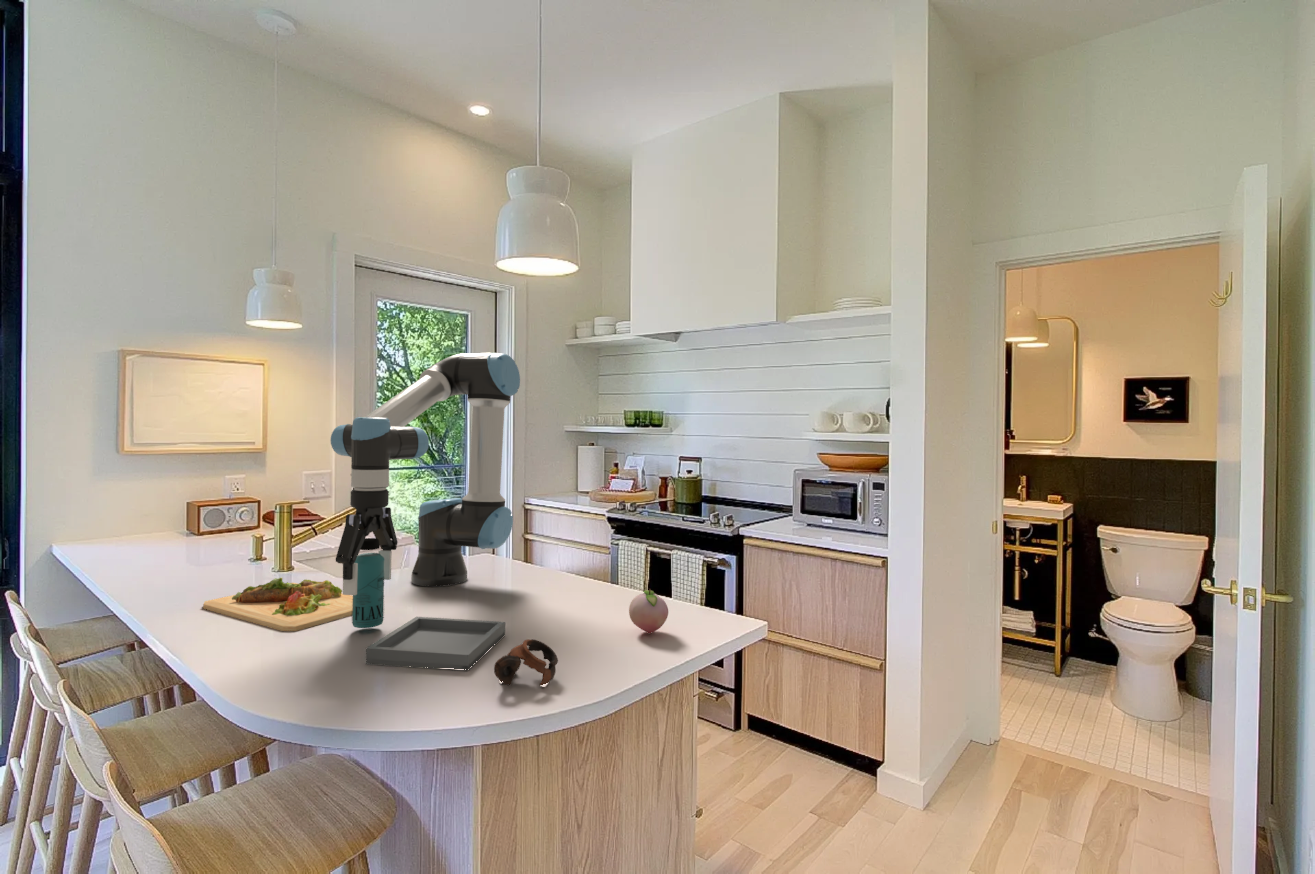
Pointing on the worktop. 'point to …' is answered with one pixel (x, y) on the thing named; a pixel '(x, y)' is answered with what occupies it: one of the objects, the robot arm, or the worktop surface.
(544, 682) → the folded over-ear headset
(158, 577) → the worktop surface
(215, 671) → the worktop surface
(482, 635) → the tray
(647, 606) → the decorative fruit
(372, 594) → the beverage bottle
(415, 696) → the worktop surface
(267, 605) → the cutting board
